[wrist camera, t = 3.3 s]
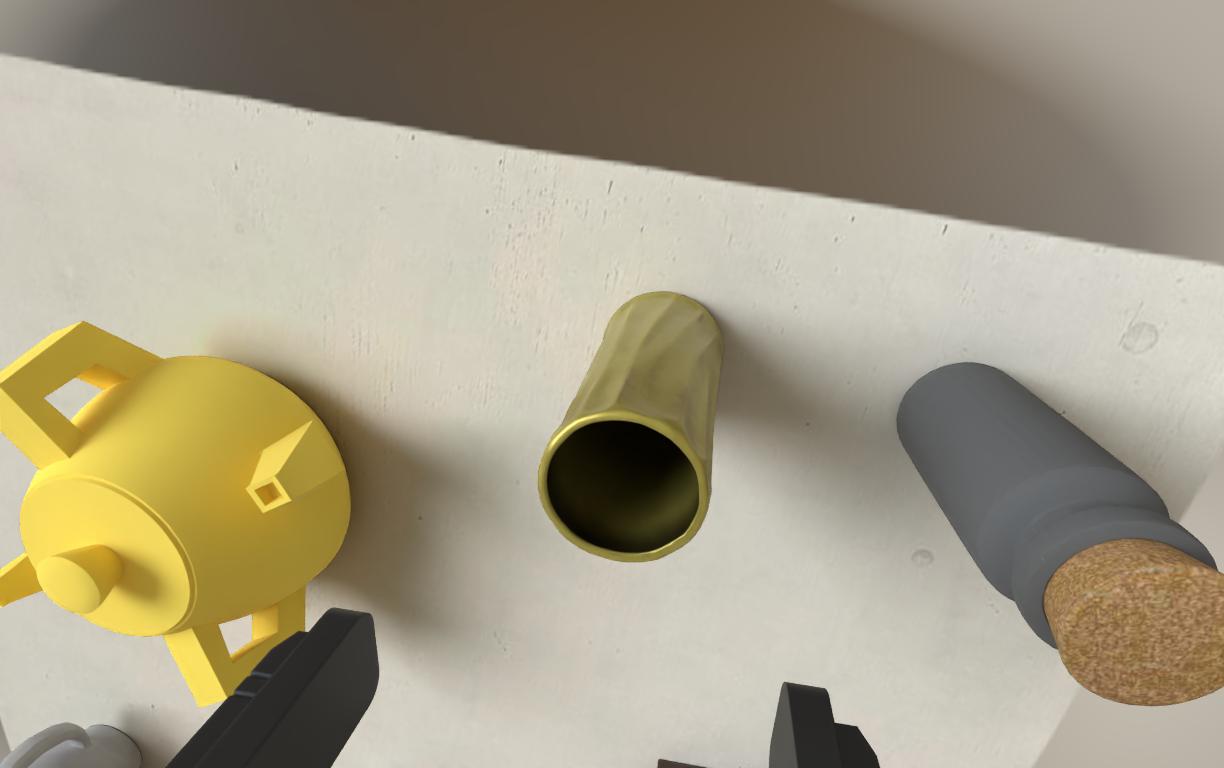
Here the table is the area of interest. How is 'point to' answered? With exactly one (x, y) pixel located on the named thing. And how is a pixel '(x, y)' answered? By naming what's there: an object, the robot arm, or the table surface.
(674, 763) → the tray
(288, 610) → the teapot
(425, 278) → the table surface
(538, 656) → the table surface
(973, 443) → the bottle
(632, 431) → the vase
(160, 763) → the table surface
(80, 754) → the mug
